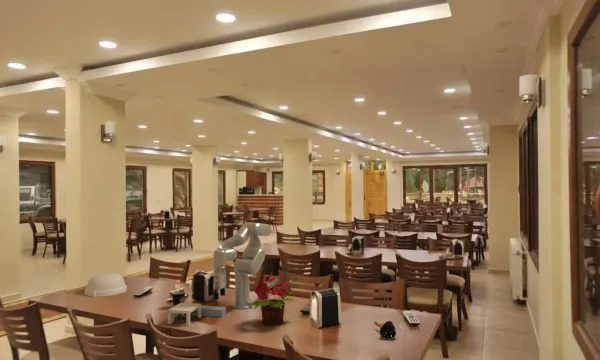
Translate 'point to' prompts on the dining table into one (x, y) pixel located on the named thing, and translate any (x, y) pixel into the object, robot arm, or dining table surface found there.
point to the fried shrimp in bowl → (386, 329)
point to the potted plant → (271, 302)
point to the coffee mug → (178, 297)
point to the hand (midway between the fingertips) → (219, 297)
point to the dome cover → (105, 285)
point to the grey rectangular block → (210, 311)
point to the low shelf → (178, 310)
